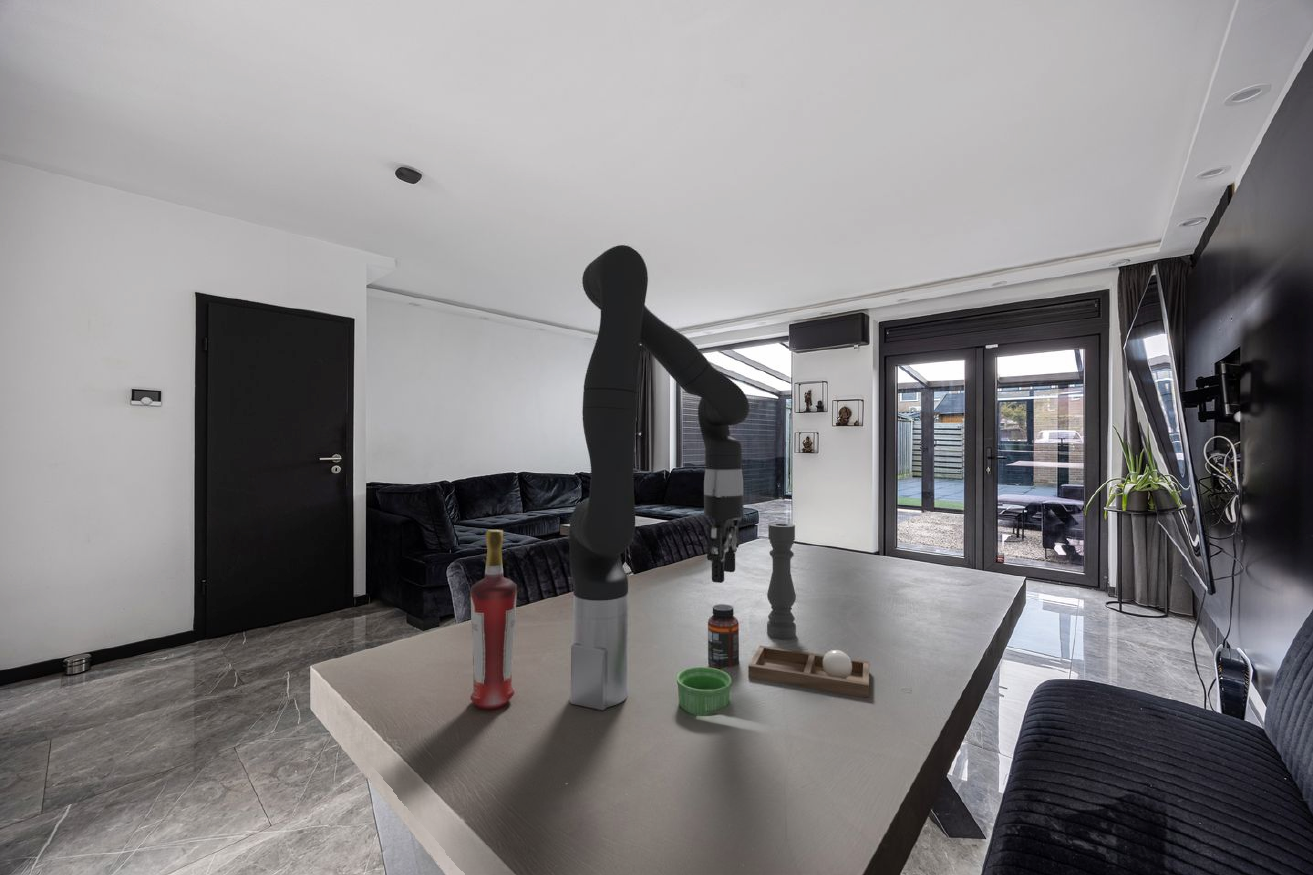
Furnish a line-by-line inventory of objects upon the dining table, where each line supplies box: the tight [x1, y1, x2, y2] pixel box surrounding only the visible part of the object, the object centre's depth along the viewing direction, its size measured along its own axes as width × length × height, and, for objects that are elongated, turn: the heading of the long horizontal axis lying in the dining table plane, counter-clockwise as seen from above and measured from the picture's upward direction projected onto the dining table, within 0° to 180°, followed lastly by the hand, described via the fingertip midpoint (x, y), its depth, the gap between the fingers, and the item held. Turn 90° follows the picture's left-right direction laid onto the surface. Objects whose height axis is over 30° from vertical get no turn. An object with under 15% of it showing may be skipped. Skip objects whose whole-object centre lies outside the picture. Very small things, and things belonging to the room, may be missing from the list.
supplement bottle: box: [707, 603, 740, 671], centre depth 102 cm, size 6×6×11 cm
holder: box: [747, 645, 870, 699], centre depth 96 cm, size 10×20×3 cm, turn 68°
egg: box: [822, 649, 852, 679], centre depth 94 cm, size 5×5×5 cm
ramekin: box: [676, 666, 733, 717], centre depth 87 cm, size 9×9×4 cm
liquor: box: [469, 529, 518, 711], centre depth 87 cm, size 7×7×28 cm
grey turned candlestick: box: [766, 522, 797, 641], centre depth 117 cm, size 6×6×25 cm
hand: (723, 576), depth 103 cm, fingers open, 8 cm apart
